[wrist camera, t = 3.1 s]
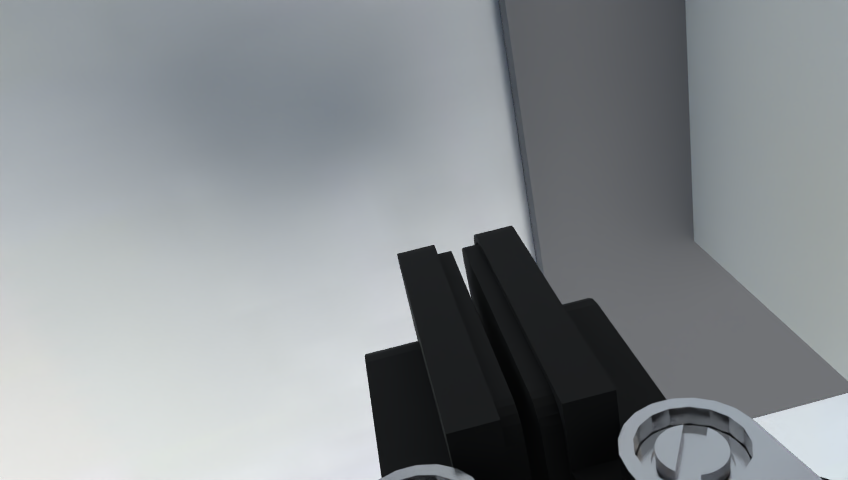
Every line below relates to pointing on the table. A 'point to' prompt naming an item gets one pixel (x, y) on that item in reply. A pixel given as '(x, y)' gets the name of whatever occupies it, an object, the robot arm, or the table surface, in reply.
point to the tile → (774, 156)
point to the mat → (639, 203)
